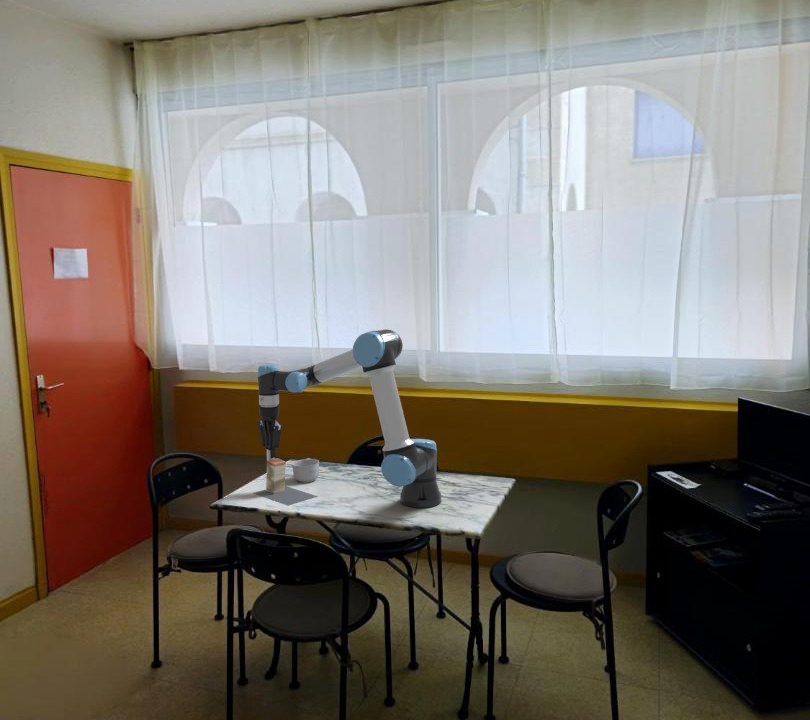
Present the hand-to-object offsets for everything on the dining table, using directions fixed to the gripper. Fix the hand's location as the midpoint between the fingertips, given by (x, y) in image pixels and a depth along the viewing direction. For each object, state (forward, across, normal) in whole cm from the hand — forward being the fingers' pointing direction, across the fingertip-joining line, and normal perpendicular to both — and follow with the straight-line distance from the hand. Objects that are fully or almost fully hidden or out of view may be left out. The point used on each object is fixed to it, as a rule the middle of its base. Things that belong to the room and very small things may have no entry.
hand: (271, 465), depth 262 cm
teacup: (+11, -2, +19) cm, 22 cm away
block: (+10, +2, 0) cm, 10 cm away
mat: (+10, +8, 0) cm, 13 cm away
